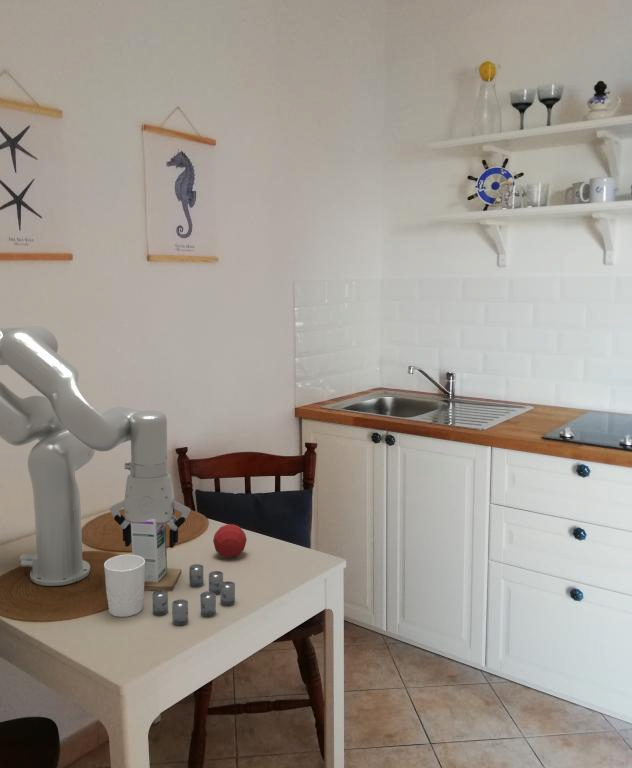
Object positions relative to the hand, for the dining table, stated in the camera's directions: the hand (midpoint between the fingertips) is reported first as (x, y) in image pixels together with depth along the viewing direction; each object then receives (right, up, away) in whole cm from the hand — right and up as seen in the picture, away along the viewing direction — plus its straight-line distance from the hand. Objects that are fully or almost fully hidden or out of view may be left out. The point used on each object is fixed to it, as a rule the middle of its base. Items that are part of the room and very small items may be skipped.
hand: (150, 544), depth 154 cm
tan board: (0, -8, +1) cm, 8 cm away
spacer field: (+11, -10, -8) cm, 17 cm away
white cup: (-2, -11, -11) cm, 16 cm away
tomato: (+15, -6, +16) cm, 23 cm away
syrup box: (0, -7, +1) cm, 8 cm away
